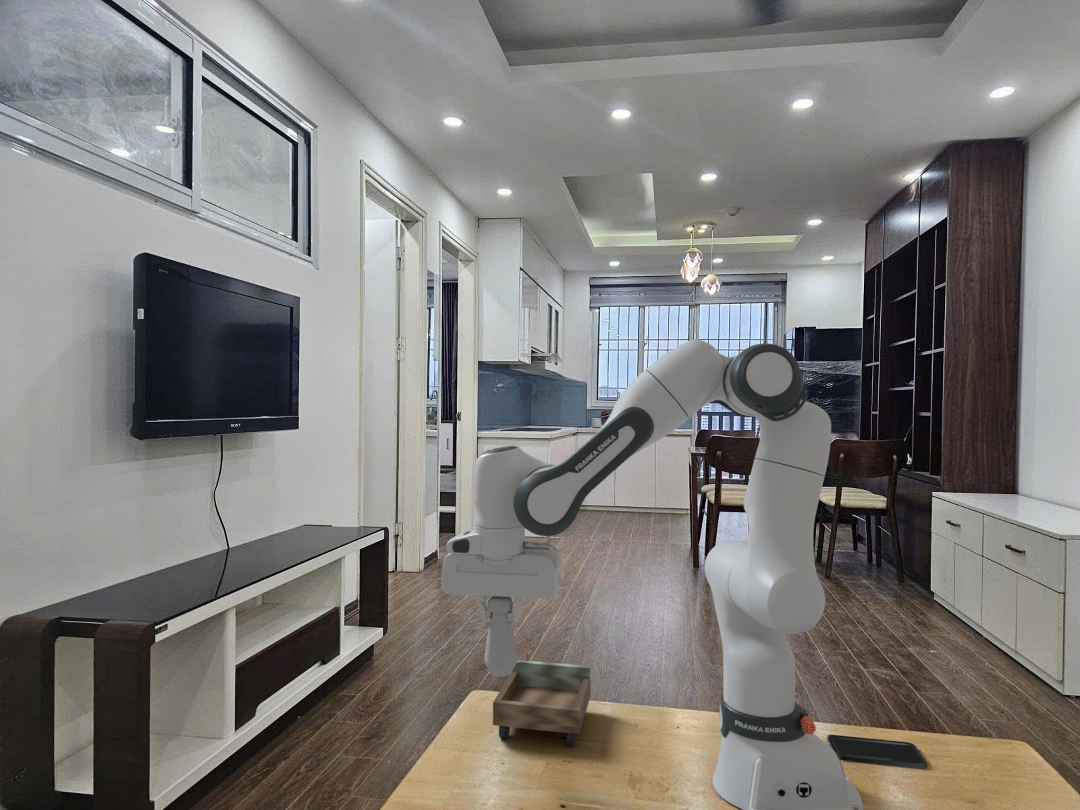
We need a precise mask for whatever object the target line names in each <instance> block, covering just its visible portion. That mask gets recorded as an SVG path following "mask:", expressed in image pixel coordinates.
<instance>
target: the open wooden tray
mask: <svg viewBox="0 0 1080 810" xmlns="http://www.w3.org/2000/svg"><path fill="white" fill-rule="evenodd" d="M591 668H592V667H591V665H583V664H582V665H581V664H572V663H571V664H570V663H561V662H559V663H557V662H546V661H538V660H537V661H535V660H524V659H518V660H517V663H516V665H515V667H514V669H513V671H512V673H511V675H508V677H507V679H506V680H505V682H504V683H503V685H502V686H501V688H500V690H499V692H498V693H497V695H496V697H495V698H494V700H493V701H492V725H493V726H498V737H499V738H500V739H509V736H510V732H511V728H516V729H527V730H536V731H543V732H544V731H545V732H546V731H547V732H554V733H555V732H556V733H563V734H566V745H567V746H573V747H574V746H576V744H577V735H580V734H581V729H582V726H583V723H584V719H585V717H586V713H587V710H588V706H589V703H590V699H591V693H592V692H591V691H592V690H591V688H592V687H591V686H592V684H591V681H592V680H591V678H592V676H591V675H592V671H591V670H592V669H591Z"/></svg>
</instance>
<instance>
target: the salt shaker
mask: <svg viewBox="0 0 1080 810" xmlns="http://www.w3.org/2000/svg"><path fill="white" fill-rule="evenodd" d="M513 604H514V602H513V598H512V597H499V596H490V598H488V601H487V605H488V610H489V611H490V612H492V613H491V621H489V624H488V631H487V632H488V633H487V637H486V644H485V652H484V656H483V657H484V658H483V659H484V664H485V666H486V668H487V670H488V672H489V674H490V675H491V676H492V677H498V678H503V677H507V676H508V677H509V675H511V673H512V671H513V669H514V667H515V665H516V663H517V660H519V655H518V650H517V646H516V640H515V635H514V631H513V630H514V629H513V625H512V624H513V623H509V622H508V621H507V619H508V617H507V613H508V612H510V611H511V610H513V609H514V607H513V606H514V605H513Z"/></svg>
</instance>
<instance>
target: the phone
mask: <svg viewBox="0 0 1080 810" xmlns="http://www.w3.org/2000/svg"><path fill="white" fill-rule="evenodd" d="M826 741H827V744H828V743H829V744H828V745H830V747H831V748H832V749H833V750H834V752H835V753H836V754H837V756H838V758H839V760H840V761H841V762H851V763H853V762H854V763H861V762H862V764H871V765H872V764H873V765H881V766H882V765H883V766H890V767H900V768H906V769H907V768H909V769H917V770H926V769H927V768H928V762H927V760H926V759H925V758H924V756H923V754H921V752H920V750H919V748H918V747H917V746H916V745H915V744H913V743H912V742H908V741H898V740H889V739H879V738H872V737H871V738H868V737H859V736H848V735H839V734H828V735H827V738H826Z"/></svg>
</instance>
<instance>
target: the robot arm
mask: <svg viewBox="0 0 1080 810" xmlns="http://www.w3.org/2000/svg"><path fill="white" fill-rule="evenodd" d="M807 399H808V394H807V389H806V387H805V384H804V381H803V377H802V372H801V369H800V365H799V363H798V361H797V359H796V357H795V356H794V355H793V354H792V352H790V351H789V350H788V349H786V348H785V347H783V346H780V345H777V344H773V343H758V344H753V345H751V346H748V347H747V348H745V349H744V350H742V351H741V352H739V353H738V354H737V355H735V356H726V355H723V354H721V353H720V352H719V350H718V349H717V348H716V347H715V346H713V345H712V344H710V343H709V342H707V341H704V340H702V339H690V340H687V341H685V342H683V343H681V344H680V345H678V346H676V347H674V348H673V349H671V350H669V351H668V352H667V353H665V354H664V355H662V356H661V357H660V358H658V359H657V360H656V361H654V362H653V363H652V364H650V365H649V366H648V367H647V368H645V370H643V371H642V372H641V373H640V374H638V375H637V376H636V377H635V378H634V380H633V381H632V382H631V383H629V385H628V386H627V387H626V388H625V390H624V391H623V392H622V393H621V394H620V396H619V397H618V398H617V400H616V401H615V403H614V405H613V409H612V410H611V413H610V414H609V416H608V418H607V420H606V421H605V422H604V424H603V425H602V427H600V429H599V430H598V431H597V432H595V434H594V435H593V436H592V437H590V438H589V439H588V440H586V442H585V443H583V444H582V445H581V446H580V447H579V448H578V449H577V450H575V451H574V452H573V453H572V454H570V456H568V457H567V459H565V460H564V461H562V462H561V463H560V464H558V465H556V464H552V463H550V462H546V461H544V460H541V459H539V458H537V457H534V456H533V455H531V454H528V453H527V452H525V451H524V450H522V448H520V447H519V446H516V445H507V446H502V447H501V446H500V447H495V448H492V449H488V450H486V451H483V452H482V453H481V454H480V455H479V456H478V457H477V458H476V461H475V464H474V470H473V471H474V472H473V486H472V487H473V492H472V496H473V497H472V498H473V504H474V507H475V515H474V519H473V530H469V531H468V530H467V531H466V532H461V533H459V534H457V535H455V536H453V537H452V538H450V539H449V540H448V541H447V543H446V552H447V553H448V554H447V555H446V556H445V557H444V559H443V561H442V562H443V563H442V569H441V577H440V578H441V582H440V583H441V584H440V585H441V589H442V591H443V592H444V593H445V594H447V595H460V596H461V595H462V596H464V595H465V596H475V602H476V604H477V606H478V608H479V610H480V611H481V612H482V621H483V622H490V621H491V613H492V612H490V611H489V610H488V602H486V599H487V598H488V597H492V596H499V597H510V598H512V603H513V604H515V607H513V609H512V610H511V611H510V612H508V613H507V617H508V619H507V621H508V622H509V623H511V624H516V623H517V622H518V620H519V610H520V608H521V607H522V604H523V603H524V601H525V599H539V600H540V599H541V600H543V599H545V600H551V599H554V598H555V596H556V595H557V594H558V591H559V588H560V585H559V583H560V582H559V574H558V569H557V568H558V567H559V564H560V552H559V549H558V548H557V547H556V546H554V545H553V544H551V543H550V542H545V541H543V542H537V541H526V530H527V531H528V532H529V533H532V534H534V535H536V536H541V537H552V536H556V535H559V534H562V533H563V532H565V531H566V530H567V529H568V528H570V526H571V525H572V524H573V523H574V521H575V519H576V517H577V515H578V513H579V511H580V509H581V506H582V504H583V502H584V501H585V499H586V497H588V496H589V494H590V493H591V492H593V490H594V489H596V487H598V486H599V485H600V484H601V483H602V482H603V481H605V480H606V478H608V477H609V476H610V475H612V473H614V471H616V470H617V469H618V468H619V467H620V466H621V465H622V464H623V463H625V462H626V461H628V459H630V458H631V457H633V456H634V455H636V454H637V453H638V452H640V451H643V449H646V448H648V447H649V446H651V445H653V444H654V443H656V442H658V441H659V440H660V441H661V439H663V438H664V437H666V436H668V435H670V434H671V433H673V432H674V431H676V430H677V429H678V428H679V427H681V426H682V425H683V424H684V423H685V422H687V421H688V420H689V419H691V417H693V416H694V415H695V414H696V413H697V412H699V411H700V410H701V409H702V408H703V407H705V406H707V405H709V403H711V402H716V404H718V405H720V406H722V407H724V408H725V409H727V410H728V411H730V412H731V413H733V414H735V415H738V416H740V417H745V418H755V419H756V421H757V422H758V426H759V443H758V446H757V449H756V452H755V456H754V460H753V464H752V468H751V471H750V475H749V478H748V484H747V487H746V491H745V495H744V498H743V509H744V511H745V515H746V518H747V523H748V541H746V540H745V541H744V540H726V541H725V540H724V541H722V542H719V543H717V544H716V545H715V546H713V547H712V548H711V550H710V551H709V552H708V554H707V556H706V558H705V561H704V575H705V579H706V581H707V583H708V584H709V587H710V590H711V593H712V597H713V601H714V608H715V611H716V617H717V622H718V623H717V624H718V629H719V633H720V638H721V645H722V654H723V655H722V657H723V659H722V661H723V663H722V664H723V666H722V667H723V670H722V671H723V677H722V678H723V685H722V686H723V693H722V694H721V696H720V704H719V729H720V733H721V735H720V736H721V739H720V746H719V752H718V758H717V762H716V766H715V769H714V770H715V771H714V773H713V776H712V782H711V783H712V785H713V788H714V790H715V791H716V792H717V794H718V795H719V796H721V798H723V800H725V801H726V802H728V803H729V804H730V805H733V806H735V807H737V808H739V809H741V810H864V804H863V801H862V797H861V795H860V793H859V791H858V789H857V788H856V786H855V784H854V783H853V782H852V781H851V780H850V778H848V777H847V776H846V772H845V770H844V767H843V764H842V760H839V758H838V756H837V754H836V753H835V752H834V750H833V749H832V748H831V747H830V746H829V744H828V742H827V743H826V741H824V740H823V739H821V737H819V736H818V735H817V734H816V733H815V732H816V729H817V727H816V724H815V722H814V720H813V718H811V717H809V713H808V711H807V709H805V708H804V706H803V705H802V703H801V702H800V701H797V702H798V703H797V702H796V660H795V656H794V652H793V650H792V648H791V646H790V644H789V642H788V640H787V637H786V634H791V635H797V634H803V633H805V632H808V631H809V630H811V629H812V628H814V627H815V626H816V625H817V624H818V622H819V621H820V620H821V618H822V616H823V614H824V611H825V607H826V595H825V594H826V593H825V591H824V587H823V585H822V583H821V582H820V581H821V580H820V579H819V577H818V573H817V569H816V563H815V552H814V529H815V519H816V515H817V510H818V505H819V501H820V498H821V497H820V496H821V493H822V488H823V483H824V480H825V476H826V473H827V469H828V468H827V467H828V463H829V458H830V457H829V456H830V450H831V439H832V421H831V418H830V416H829V414H828V413H827V412H826V411H825V410H824V409H823V408H821V407H820V406H818V405H817V404H814V403H812V402H810V401H807ZM785 633H786V634H785Z"/></svg>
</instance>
